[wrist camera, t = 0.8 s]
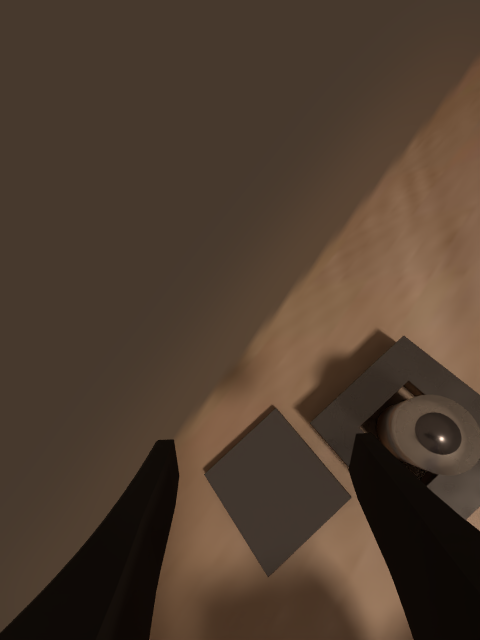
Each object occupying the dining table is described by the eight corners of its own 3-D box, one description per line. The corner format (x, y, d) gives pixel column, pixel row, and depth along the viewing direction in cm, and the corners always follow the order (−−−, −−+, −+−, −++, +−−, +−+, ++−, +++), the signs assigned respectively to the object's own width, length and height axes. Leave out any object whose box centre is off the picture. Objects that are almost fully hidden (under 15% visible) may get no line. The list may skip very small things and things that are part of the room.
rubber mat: (350, 496, 23) (351, 497, 22) (269, 573, 23) (268, 577, 22) (276, 408, 27) (275, 408, 26) (206, 473, 27) (204, 474, 26)
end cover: (452, 436, 23) (503, 438, 16) (411, 476, 22) (446, 494, 16) (402, 392, 25) (430, 379, 18) (364, 428, 24) (379, 427, 18)
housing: (522, 443, 21) (542, 444, 19) (418, 544, 21) (428, 556, 19) (397, 342, 26) (403, 335, 24) (311, 423, 26) (309, 423, 24)
